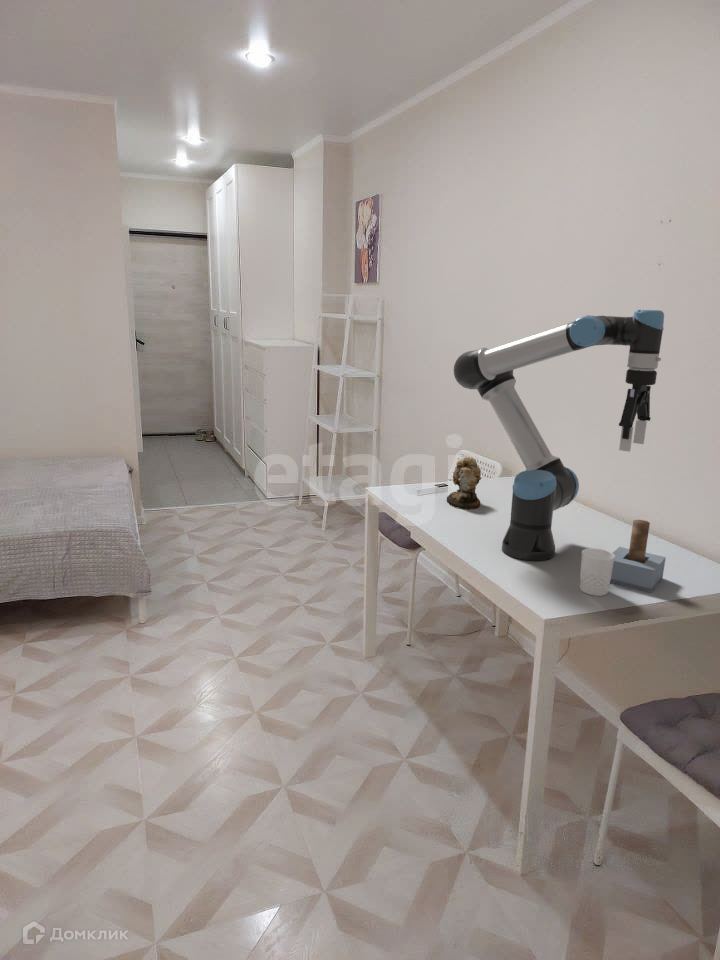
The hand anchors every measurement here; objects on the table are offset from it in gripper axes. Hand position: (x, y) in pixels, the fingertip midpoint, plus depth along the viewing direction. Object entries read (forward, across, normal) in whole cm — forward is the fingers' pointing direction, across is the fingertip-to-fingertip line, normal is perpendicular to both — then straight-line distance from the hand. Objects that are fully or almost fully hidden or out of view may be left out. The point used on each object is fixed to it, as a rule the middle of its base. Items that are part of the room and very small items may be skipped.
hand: (631, 447), depth 185 cm
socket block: (+33, -13, -8) cm, 36 cm away
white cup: (+33, -28, -2) cm, 43 cm away
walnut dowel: (+32, -13, -8) cm, 35 cm away
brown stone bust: (+33, +21, +61) cm, 72 cm away
